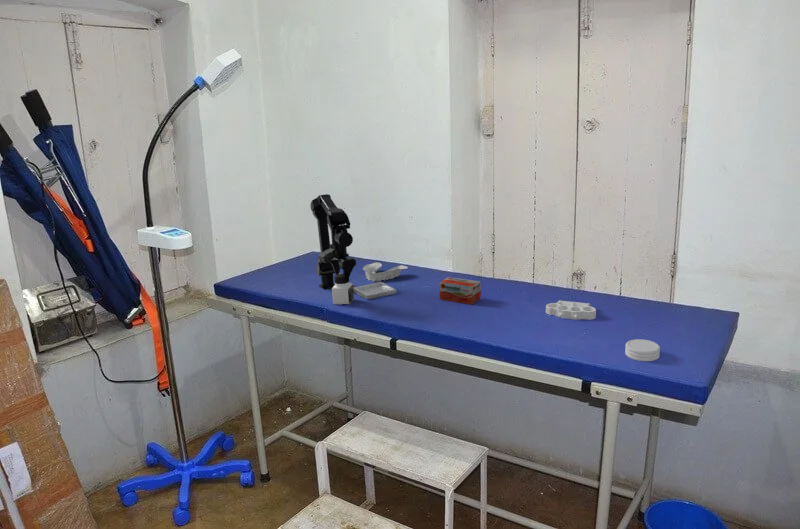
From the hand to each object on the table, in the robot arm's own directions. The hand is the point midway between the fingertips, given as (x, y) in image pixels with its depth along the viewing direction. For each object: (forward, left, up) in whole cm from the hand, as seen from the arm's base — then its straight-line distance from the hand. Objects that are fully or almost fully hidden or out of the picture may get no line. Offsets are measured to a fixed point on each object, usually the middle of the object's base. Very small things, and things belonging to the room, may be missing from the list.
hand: (341, 278), depth 244 cm
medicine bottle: (0, 0, -10) cm, 10 cm away
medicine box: (+27, +40, -11) cm, 50 cm away
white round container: (+104, +55, -11) cm, 118 cm away
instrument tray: (-3, +16, -10) cm, 19 cm away
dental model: (-22, +29, -11) cm, 38 cm away
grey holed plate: (+65, +64, -11) cm, 92 cm away
